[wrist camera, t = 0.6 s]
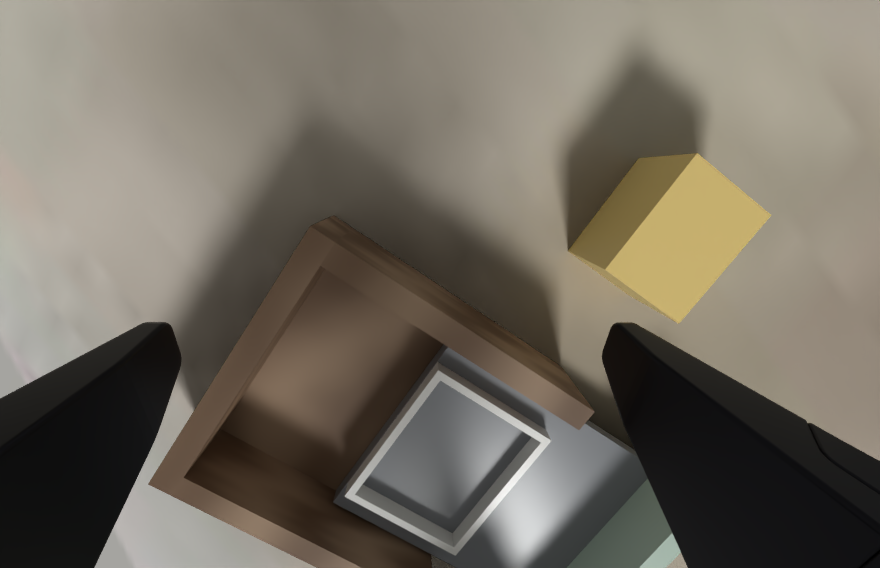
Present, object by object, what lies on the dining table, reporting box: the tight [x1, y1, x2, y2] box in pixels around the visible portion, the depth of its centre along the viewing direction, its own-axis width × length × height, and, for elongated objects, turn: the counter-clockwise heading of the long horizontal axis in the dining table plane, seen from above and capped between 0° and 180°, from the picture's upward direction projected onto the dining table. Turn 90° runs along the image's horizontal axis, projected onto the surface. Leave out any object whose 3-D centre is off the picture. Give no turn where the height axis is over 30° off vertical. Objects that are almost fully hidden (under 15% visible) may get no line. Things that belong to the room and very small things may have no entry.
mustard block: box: [568, 153, 771, 324], centre depth 21 cm, size 4×6×5 cm
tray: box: [333, 344, 681, 568], centre depth 24 cm, size 15×15×5 cm
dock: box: [149, 216, 595, 568], centre depth 23 cm, size 16×15×5 cm
